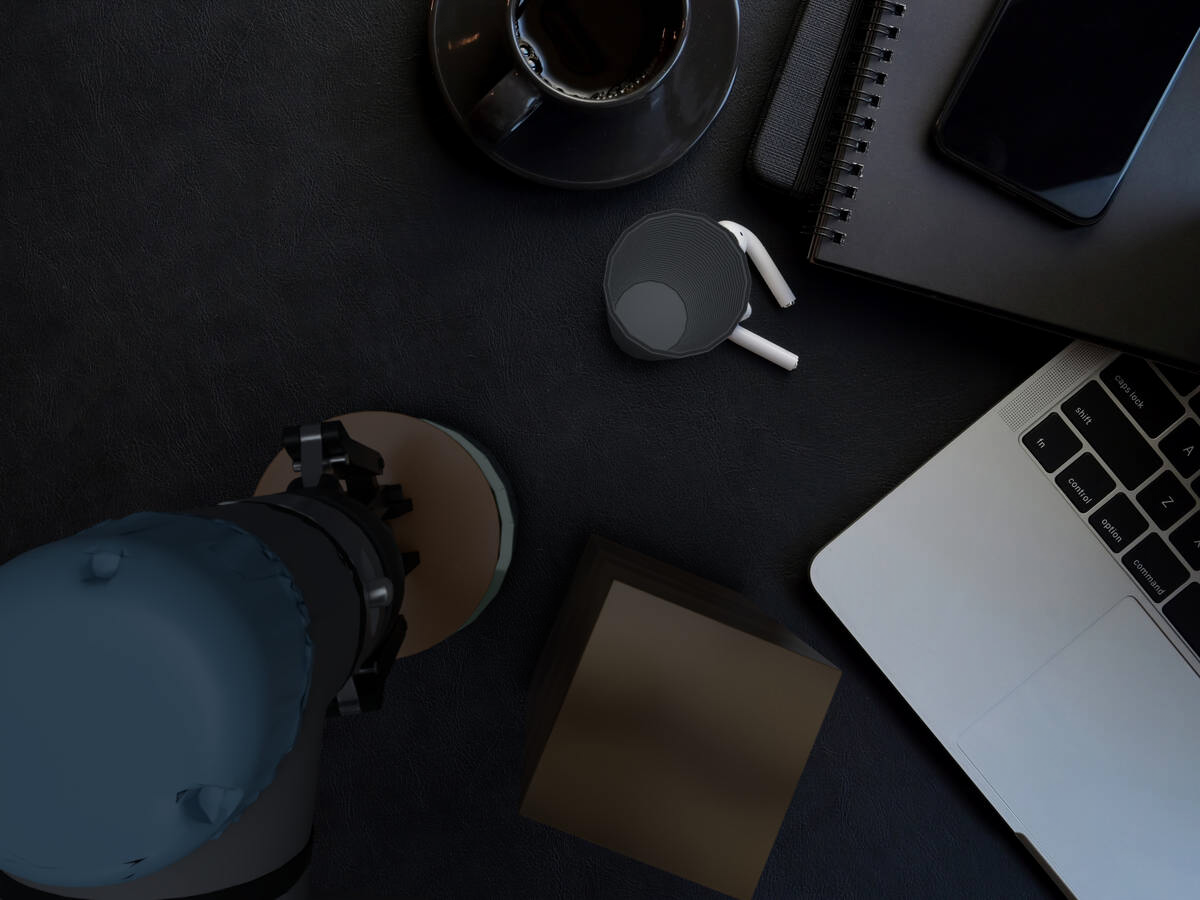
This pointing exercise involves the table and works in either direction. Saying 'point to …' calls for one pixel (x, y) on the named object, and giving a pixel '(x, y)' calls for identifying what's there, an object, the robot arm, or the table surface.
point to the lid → (425, 519)
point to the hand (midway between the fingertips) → (394, 533)
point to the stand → (670, 719)
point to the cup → (675, 285)
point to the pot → (504, 505)
